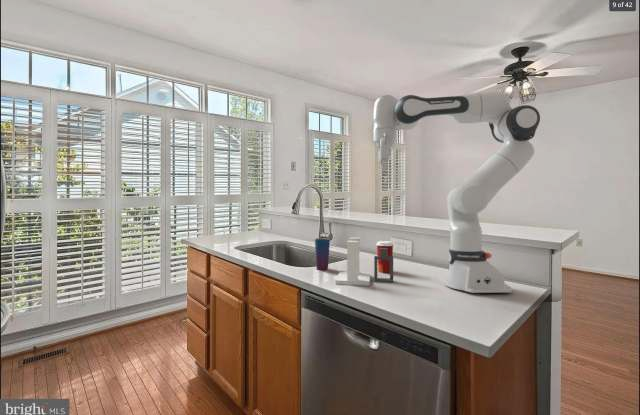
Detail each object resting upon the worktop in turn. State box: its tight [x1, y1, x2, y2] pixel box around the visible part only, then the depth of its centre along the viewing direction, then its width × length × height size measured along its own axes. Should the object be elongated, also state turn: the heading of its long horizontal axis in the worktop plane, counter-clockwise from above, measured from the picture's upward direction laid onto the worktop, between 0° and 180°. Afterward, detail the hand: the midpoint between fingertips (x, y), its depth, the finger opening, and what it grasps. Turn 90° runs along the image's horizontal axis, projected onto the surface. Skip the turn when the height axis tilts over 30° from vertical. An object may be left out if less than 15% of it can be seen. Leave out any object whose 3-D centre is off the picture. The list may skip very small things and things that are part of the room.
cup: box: [314, 237, 331, 272], centre depth 149 cm, size 7×7×15 cm
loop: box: [373, 248, 394, 284], centre depth 131 cm, size 7×4×13 cm, turn 81°
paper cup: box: [376, 240, 394, 274], centre depth 147 cm, size 8×8×14 cm
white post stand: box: [335, 237, 371, 286], centre depth 133 cm, size 13×16×16 cm
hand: (384, 172), depth 131 cm, fingers open, 8 cm apart
